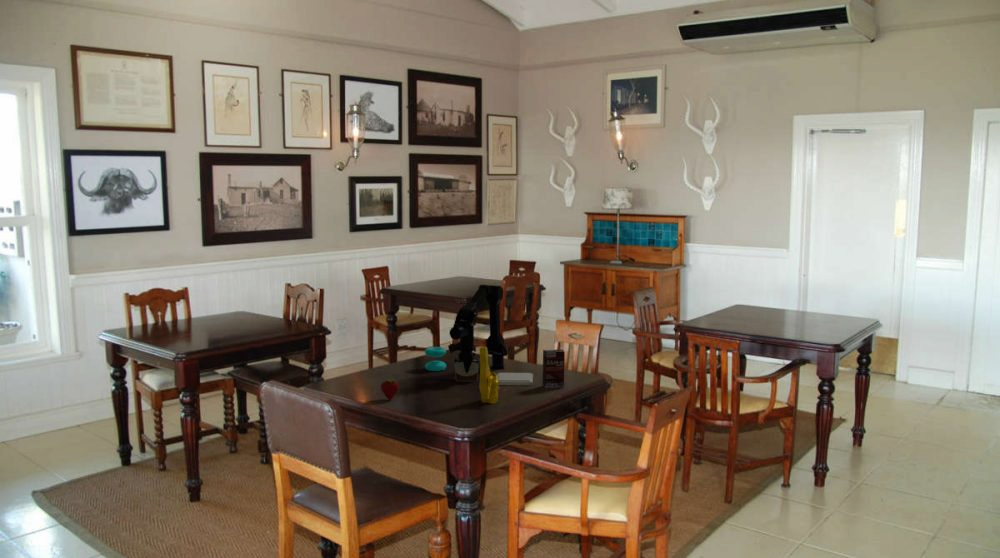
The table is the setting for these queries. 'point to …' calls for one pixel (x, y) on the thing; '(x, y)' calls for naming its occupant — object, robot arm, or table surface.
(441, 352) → the donuts
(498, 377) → the white square tray
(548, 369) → the supplement box
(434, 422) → the table surface
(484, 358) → the yellow tall lumpy piece
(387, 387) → the strawberry
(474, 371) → the food container
